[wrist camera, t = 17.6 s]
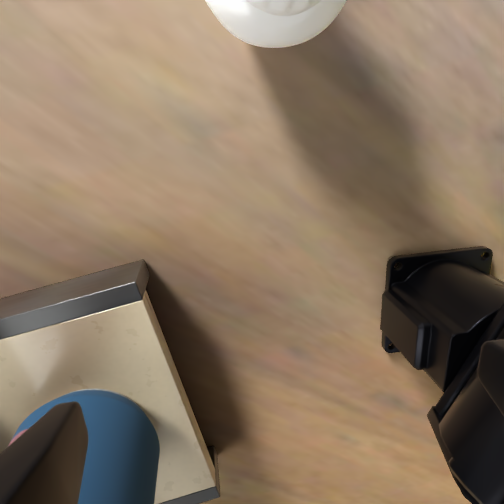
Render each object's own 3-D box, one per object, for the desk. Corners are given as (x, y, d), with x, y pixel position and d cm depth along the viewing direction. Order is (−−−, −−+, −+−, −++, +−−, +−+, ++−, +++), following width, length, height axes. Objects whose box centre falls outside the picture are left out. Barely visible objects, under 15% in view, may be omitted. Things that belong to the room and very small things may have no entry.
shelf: (143, 258, 20) (107, 359, 12) (217, 456, 26) (228, 620, 17) (-148, 338, 20) (-406, 506, 11) (-9, 524, 25) (-112, 731, 17)
